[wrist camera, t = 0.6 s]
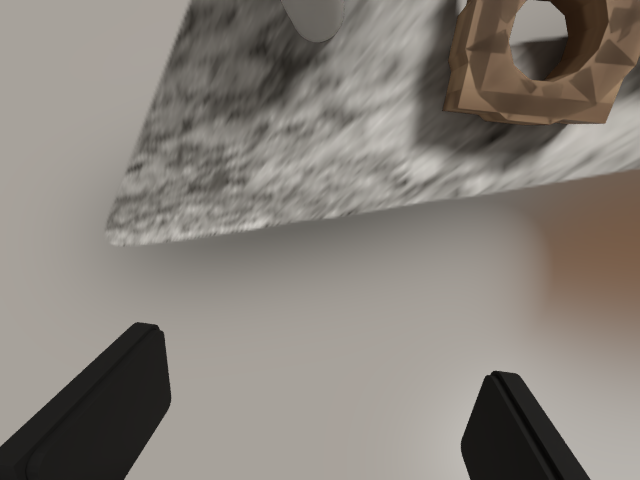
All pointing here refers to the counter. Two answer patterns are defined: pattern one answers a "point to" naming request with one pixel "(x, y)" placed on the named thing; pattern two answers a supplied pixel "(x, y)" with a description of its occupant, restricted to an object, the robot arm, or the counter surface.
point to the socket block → (565, 79)
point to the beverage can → (315, 17)
